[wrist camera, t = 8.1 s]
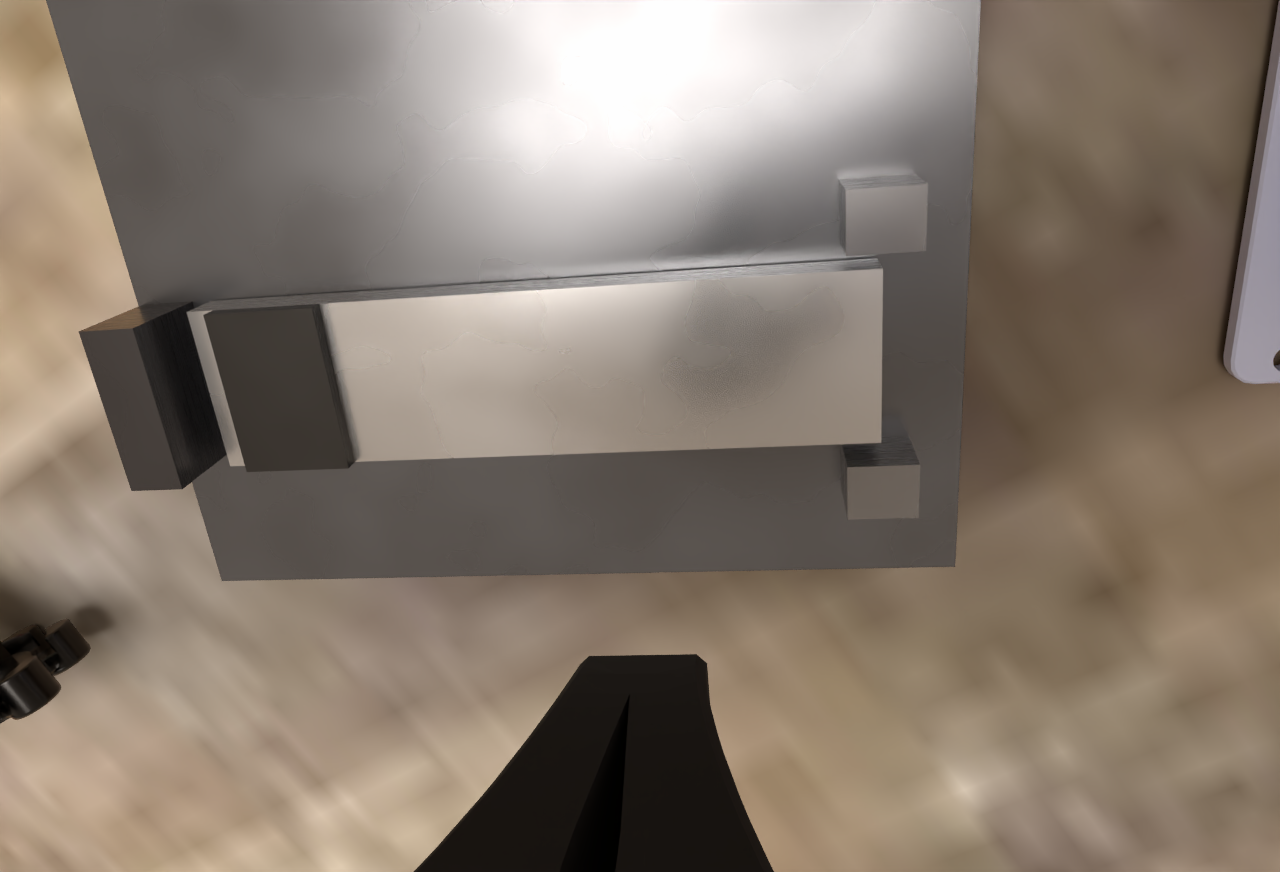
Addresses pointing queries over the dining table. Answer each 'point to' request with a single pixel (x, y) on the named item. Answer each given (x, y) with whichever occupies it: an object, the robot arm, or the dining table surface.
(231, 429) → the steel strap
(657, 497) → the grey flat block
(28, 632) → the valve
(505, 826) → the robot arm
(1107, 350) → the dining table surface
